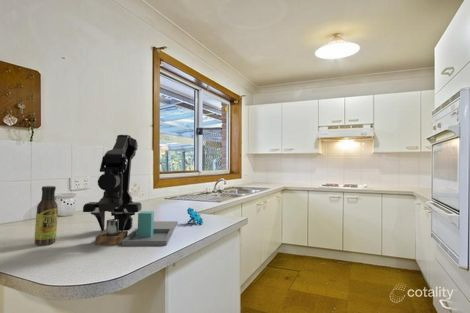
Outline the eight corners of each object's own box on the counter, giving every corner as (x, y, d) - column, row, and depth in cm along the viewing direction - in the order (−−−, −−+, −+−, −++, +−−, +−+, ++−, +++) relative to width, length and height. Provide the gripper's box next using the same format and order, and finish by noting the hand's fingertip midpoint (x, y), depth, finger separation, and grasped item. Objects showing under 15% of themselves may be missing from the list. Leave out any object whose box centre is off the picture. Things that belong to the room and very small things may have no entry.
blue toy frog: (198, 223, 126) (185, 206, 129) (189, 232, 127) (177, 215, 130) (207, 222, 136) (196, 206, 140) (199, 230, 137) (187, 214, 140)
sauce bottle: (42, 247, 93) (44, 187, 93) (30, 244, 95) (32, 186, 95) (60, 242, 99) (62, 186, 99) (48, 240, 101) (50, 185, 101)
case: (121, 246, 95) (121, 241, 95) (145, 223, 131) (145, 219, 131) (166, 246, 96) (166, 240, 96) (177, 223, 132) (177, 219, 132)
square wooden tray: (95, 245, 95) (95, 237, 95) (104, 239, 104) (104, 231, 104) (120, 245, 96) (120, 237, 96) (127, 239, 105) (127, 231, 105)
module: (137, 237, 106) (138, 213, 106) (140, 233, 111) (141, 211, 111) (150, 236, 107) (151, 213, 107) (153, 233, 112) (154, 211, 112)
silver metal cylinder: (104, 244, 98) (104, 221, 98) (108, 240, 102) (108, 218, 102) (115, 244, 98) (116, 221, 98) (119, 240, 102) (120, 219, 102)
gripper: (76, 189, 91) (74, 237, 91) (134, 190, 93) (133, 237, 93) (90, 186, 103) (89, 229, 102) (142, 187, 104) (141, 229, 104)
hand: (112, 231), depth 100 cm, fingers open, 6 cm apart
